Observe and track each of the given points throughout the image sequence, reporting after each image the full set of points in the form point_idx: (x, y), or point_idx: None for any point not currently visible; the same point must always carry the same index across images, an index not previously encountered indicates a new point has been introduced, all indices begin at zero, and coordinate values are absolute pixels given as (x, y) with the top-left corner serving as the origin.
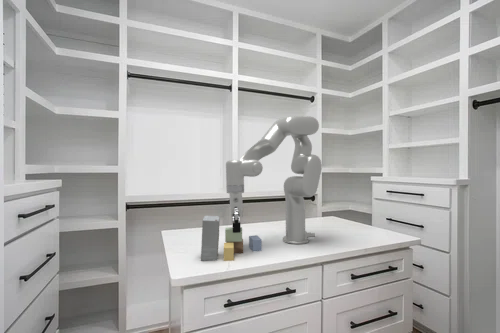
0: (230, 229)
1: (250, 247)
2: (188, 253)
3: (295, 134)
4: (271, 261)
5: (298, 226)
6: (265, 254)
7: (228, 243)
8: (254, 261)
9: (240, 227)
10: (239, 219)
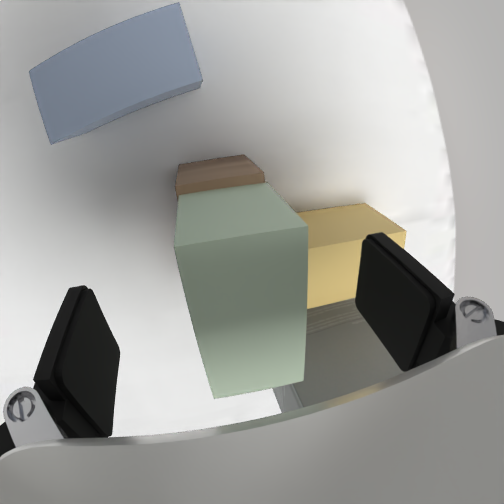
0: (300, 347)
1: (125, 114)
2: (252, 400)
3: None
4: (381, 6)
5: None
6: (265, 8)
7: (314, 281)
8: (384, 91)
9: (411, 257)
10: (494, 330)
